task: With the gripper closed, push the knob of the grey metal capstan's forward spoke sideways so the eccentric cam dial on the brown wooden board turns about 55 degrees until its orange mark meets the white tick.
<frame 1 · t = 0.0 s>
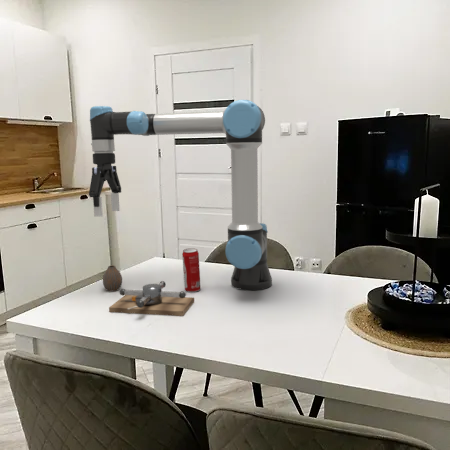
hand: (107, 213, 160), 28 cm above the table, fingers open, 13 cm apart
brown wooden board: (152, 306, 146), on the table
vase: (113, 290, 165), on the table
beverage can: (192, 290, 162), on the table
cam capstan: (152, 294, 145), point 4 cm above the table, hinge at 0.0°
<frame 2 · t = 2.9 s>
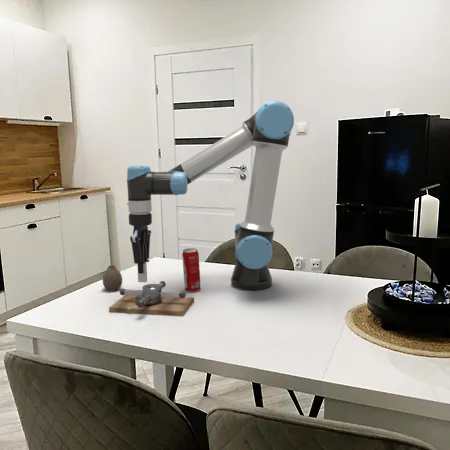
hand: (142, 281, 154), 6 cm above the table, fingers closed
nothing on the table moved.
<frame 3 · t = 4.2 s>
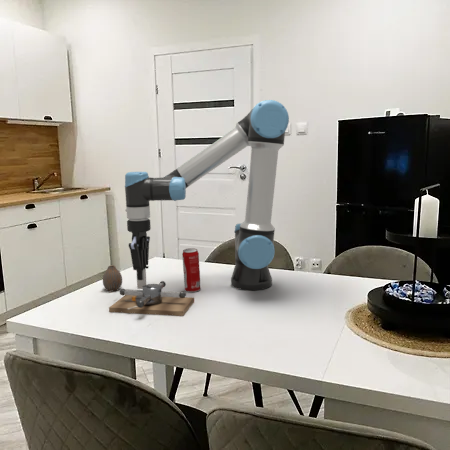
hand: (142, 288, 152), 4 cm above the table, fingers closed
nothing on the table moved.
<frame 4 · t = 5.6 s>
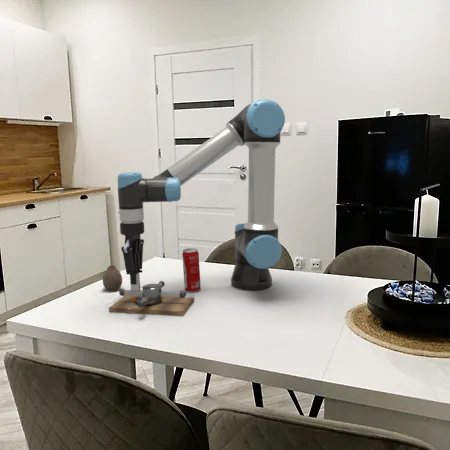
hand: (135, 292, 147), 4 cm above the table, fingers closed
cam capstan: (152, 294, 145), point 4 cm above the table, hinge at 2.3°, touching gripper
everything else where it was.
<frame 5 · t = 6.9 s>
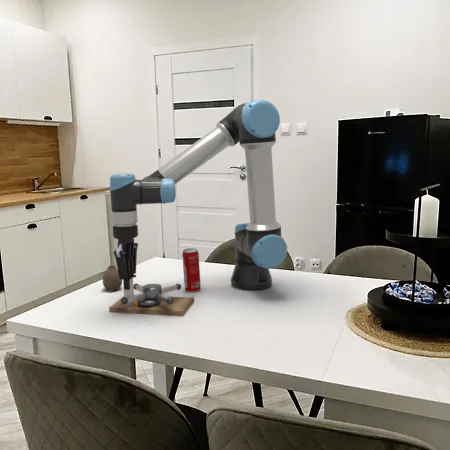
hand: (129, 298, 142), 4 cm above the table, fingers closed
cam capstan: (152, 294, 145), point 4 cm above the table, hinge at 52.5°, touching gripper
everything else where it was.
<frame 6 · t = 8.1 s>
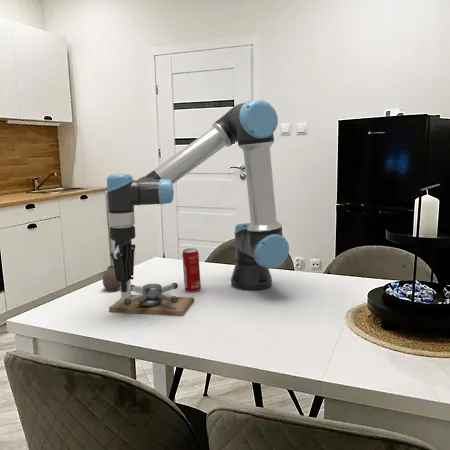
hand: (126, 300, 140), 4 cm above the table, fingers closed
cam capstan: (152, 294, 145), point 4 cm above the table, hinge at 61.9°, touching gripper
everything else where it was.
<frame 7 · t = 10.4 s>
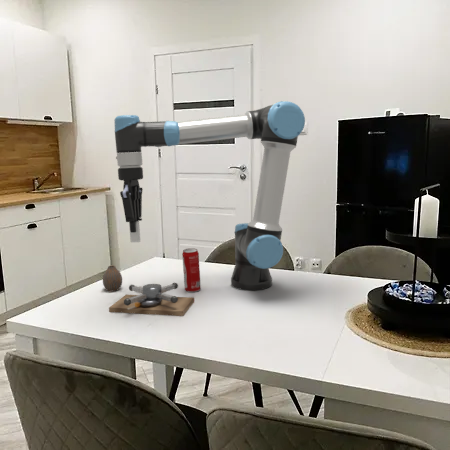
hand: (135, 241, 143), 21 cm above the table, fingers closed
cam capstan: (152, 294, 145), point 4 cm above the table, hinge at 62.0°
everything else where it was.
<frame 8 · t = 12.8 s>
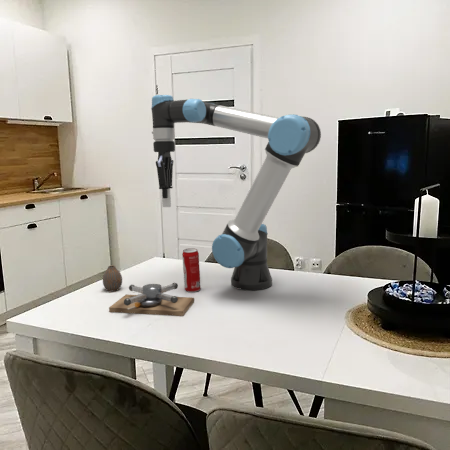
hand: (166, 206, 164), 29 cm above the table, fingers closed
nothing on the table moved.
at the end: cam capstan at +62° (first picture: +0°) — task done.
